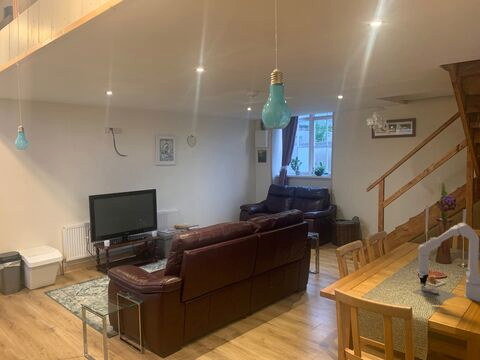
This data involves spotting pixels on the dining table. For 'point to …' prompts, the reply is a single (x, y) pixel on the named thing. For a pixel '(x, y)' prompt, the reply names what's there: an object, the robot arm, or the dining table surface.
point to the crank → (429, 289)
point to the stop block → (432, 279)
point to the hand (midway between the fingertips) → (423, 285)
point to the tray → (436, 284)
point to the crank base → (439, 297)
